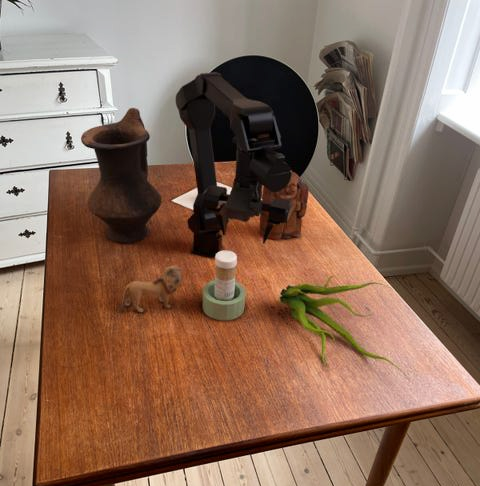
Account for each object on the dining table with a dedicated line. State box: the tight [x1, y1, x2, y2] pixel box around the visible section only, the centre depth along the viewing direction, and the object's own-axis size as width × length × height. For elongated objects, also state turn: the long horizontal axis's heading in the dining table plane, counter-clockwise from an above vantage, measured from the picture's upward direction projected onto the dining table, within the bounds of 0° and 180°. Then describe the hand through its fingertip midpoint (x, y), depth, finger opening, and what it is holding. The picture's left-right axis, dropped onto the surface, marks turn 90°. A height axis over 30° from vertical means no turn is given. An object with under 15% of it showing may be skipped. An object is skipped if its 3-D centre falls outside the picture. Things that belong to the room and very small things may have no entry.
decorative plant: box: [279, 275, 410, 380], centre depth 101 cm, size 18×30×15 cm, turn 13°
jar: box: [201, 279, 247, 321], centre depth 111 cm, size 9×9×4 cm
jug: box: [80, 107, 163, 244], centre depth 125 cm, size 21×18×30 cm
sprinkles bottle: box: [214, 249, 238, 301], centre depth 108 cm, size 5×5×13 cm
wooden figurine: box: [259, 171, 310, 241], centre depth 133 cm, size 12×6×18 cm, turn 101°
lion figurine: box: [117, 264, 183, 313], centre depth 108 cm, size 15×5×9 cm, turn 116°
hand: (244, 238), depth 110 cm, fingers open, 9 cm apart
